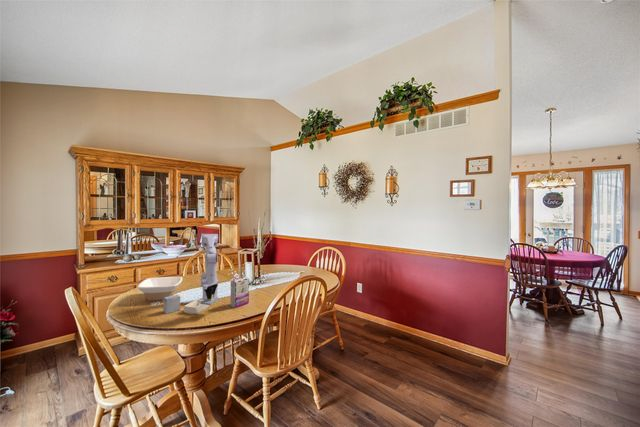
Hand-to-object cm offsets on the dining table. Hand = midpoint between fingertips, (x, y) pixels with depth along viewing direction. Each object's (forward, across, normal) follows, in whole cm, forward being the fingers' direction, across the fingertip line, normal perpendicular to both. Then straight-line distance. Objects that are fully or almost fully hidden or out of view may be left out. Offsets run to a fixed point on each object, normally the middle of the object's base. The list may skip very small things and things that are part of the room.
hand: (210, 298), depth 157 cm
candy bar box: (+10, -18, +10) cm, 23 cm away
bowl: (+10, -22, -46) cm, 52 cm away
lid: (+2, 0, 0) cm, 2 cm away
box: (+10, -5, -11) cm, 16 cm away
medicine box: (+10, -1, -24) cm, 26 cm away
